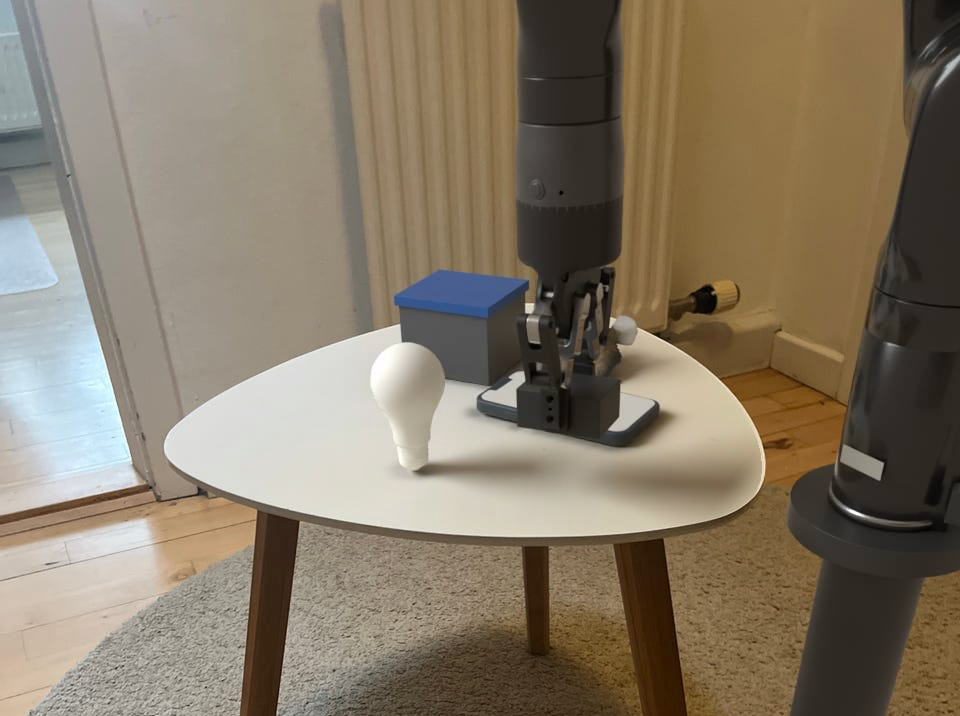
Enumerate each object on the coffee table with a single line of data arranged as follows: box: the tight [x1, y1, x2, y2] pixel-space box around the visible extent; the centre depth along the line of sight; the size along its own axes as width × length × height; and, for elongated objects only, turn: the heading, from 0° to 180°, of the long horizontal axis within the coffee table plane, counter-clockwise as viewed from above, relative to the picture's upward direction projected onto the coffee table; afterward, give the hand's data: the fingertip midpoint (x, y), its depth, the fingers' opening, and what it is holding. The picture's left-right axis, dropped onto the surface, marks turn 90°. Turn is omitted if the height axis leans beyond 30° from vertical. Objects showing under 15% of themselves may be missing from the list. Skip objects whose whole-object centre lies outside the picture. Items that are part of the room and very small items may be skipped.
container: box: [393, 269, 530, 387], centre depth 102 cm, size 11×10×8 cm
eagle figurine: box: [557, 314, 639, 378], centre depth 100 cm, size 8×7×9 cm
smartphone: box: [476, 370, 661, 447], centre depth 93 cm, size 9×2×16 cm
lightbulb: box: [369, 342, 446, 472], centre depth 82 cm, size 6×6×11 cm
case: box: [516, 373, 622, 439], centre depth 78 cm, size 7×5×3 cm, turn 64°
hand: (568, 417), depth 79 cm, fingers closed on case, 4 cm apart
